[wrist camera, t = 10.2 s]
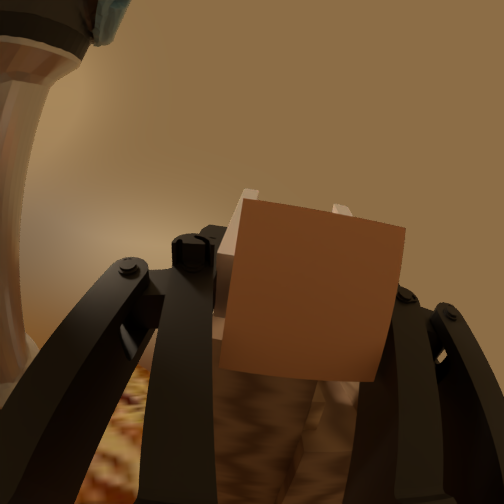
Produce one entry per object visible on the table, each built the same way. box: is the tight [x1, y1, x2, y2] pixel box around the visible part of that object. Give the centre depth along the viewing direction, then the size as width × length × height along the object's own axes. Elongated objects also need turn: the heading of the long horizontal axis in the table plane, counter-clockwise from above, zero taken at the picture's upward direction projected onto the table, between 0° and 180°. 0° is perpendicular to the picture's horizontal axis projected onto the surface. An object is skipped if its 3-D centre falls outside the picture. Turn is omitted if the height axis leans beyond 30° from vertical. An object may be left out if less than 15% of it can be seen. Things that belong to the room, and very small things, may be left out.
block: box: [219, 198, 406, 382], centre depth 18 cm, size 4×24×4 cm, turn 178°
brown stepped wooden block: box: [212, 314, 359, 504], centre depth 31 cm, size 22×21×30 cm
